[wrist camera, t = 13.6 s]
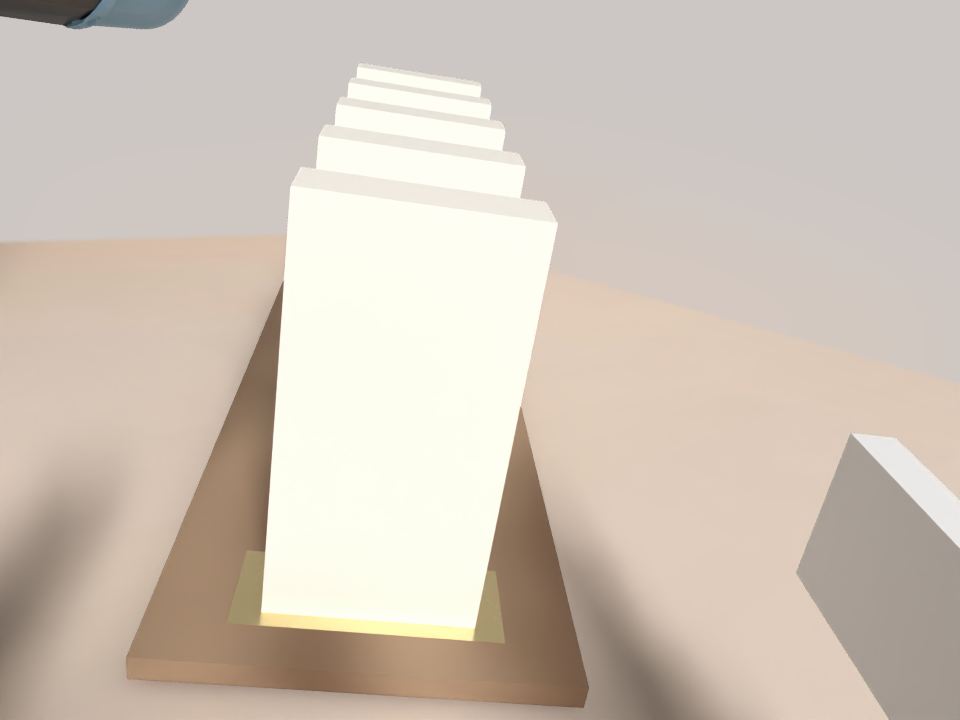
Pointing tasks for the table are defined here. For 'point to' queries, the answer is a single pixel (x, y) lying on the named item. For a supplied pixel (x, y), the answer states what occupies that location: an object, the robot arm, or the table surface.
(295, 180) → the domino
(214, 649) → the board
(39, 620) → the table surface
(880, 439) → the robot arm
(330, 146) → the domino
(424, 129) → the domino
